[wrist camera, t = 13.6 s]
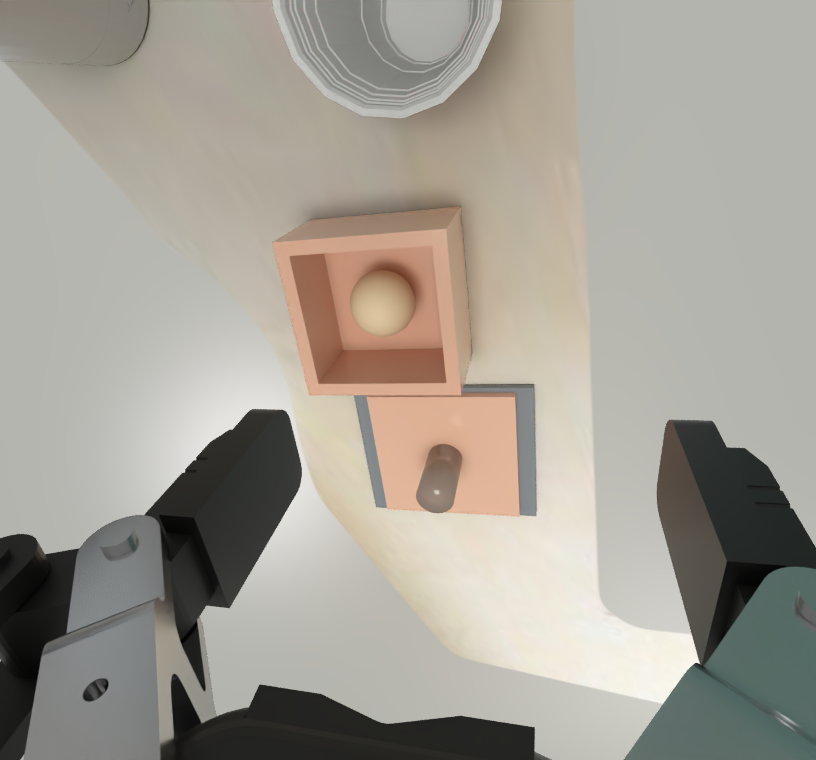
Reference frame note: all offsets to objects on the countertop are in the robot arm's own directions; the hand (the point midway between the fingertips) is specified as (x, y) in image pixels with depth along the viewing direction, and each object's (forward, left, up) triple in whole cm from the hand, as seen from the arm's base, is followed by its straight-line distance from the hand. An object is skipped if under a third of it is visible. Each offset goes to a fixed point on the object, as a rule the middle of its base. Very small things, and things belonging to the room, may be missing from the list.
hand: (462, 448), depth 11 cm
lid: (-7, -23, -31) cm, 39 cm away
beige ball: (-10, -7, -30) cm, 32 cm away
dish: (-10, -7, -31) cm, 33 cm away
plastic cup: (-5, +11, -31) cm, 34 cm away
